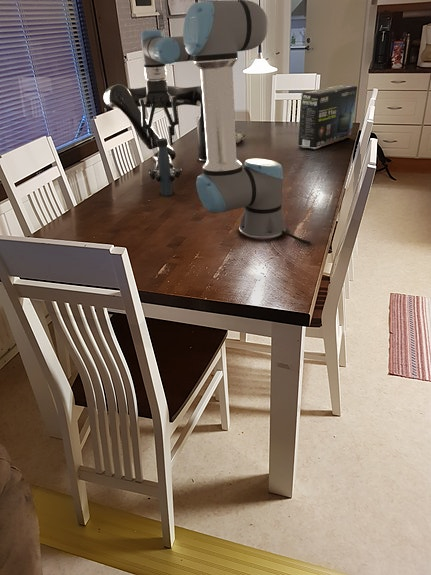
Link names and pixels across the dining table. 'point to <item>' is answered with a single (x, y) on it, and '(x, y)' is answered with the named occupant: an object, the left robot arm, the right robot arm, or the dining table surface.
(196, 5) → the right robot arm
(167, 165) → the bottle
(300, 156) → the dining table surface
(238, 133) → the fossil
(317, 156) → the dining table surface
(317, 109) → the router box
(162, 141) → the cap
